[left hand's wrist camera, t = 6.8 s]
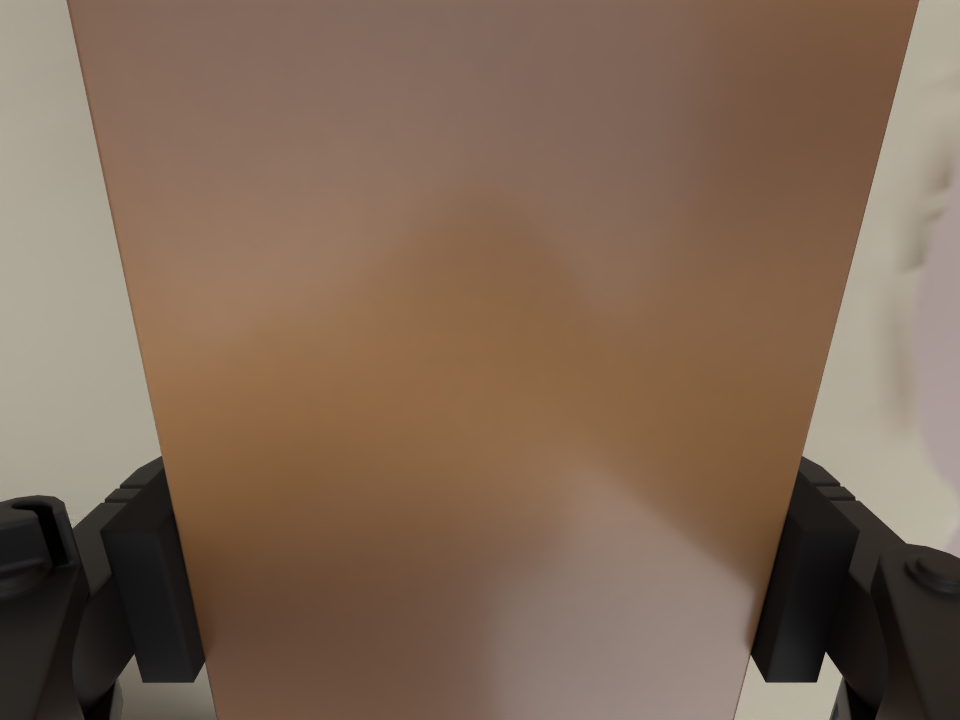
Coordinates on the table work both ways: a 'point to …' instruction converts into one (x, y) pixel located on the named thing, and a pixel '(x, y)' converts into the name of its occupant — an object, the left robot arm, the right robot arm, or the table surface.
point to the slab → (484, 330)
